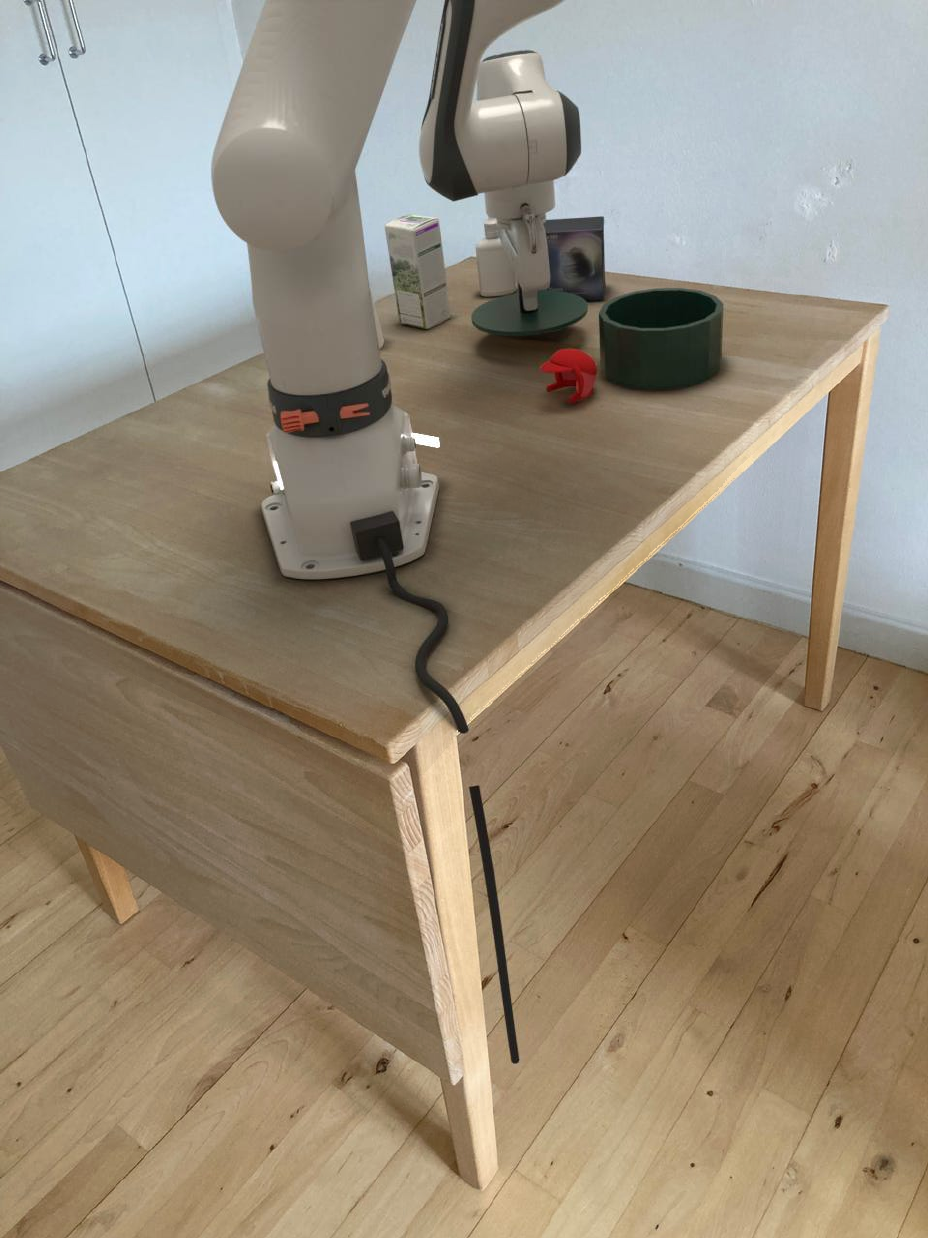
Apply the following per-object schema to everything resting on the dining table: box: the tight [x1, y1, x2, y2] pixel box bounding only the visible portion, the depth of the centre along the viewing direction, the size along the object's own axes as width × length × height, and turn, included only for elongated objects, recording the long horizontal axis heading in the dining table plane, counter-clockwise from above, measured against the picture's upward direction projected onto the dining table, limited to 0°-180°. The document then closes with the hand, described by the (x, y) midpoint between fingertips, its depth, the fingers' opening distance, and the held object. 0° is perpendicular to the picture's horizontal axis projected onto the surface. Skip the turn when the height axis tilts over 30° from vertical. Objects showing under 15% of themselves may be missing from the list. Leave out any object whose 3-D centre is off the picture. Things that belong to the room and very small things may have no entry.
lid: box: [470, 284, 589, 337], centre depth 138 cm, size 16×16×5 cm
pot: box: [598, 287, 725, 392], centre depth 127 cm, size 15×15×8 cm
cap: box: [539, 348, 598, 405], centre depth 123 cm, size 8×6×6 cm
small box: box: [538, 216, 607, 302], centre depth 152 cm, size 11×6×10 cm, turn 81°
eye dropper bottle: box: [475, 215, 517, 298], centre depth 156 cm, size 4×6×12 cm
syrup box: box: [384, 214, 452, 330], centre depth 148 cm, size 6×6×14 cm
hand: (528, 303), depth 138 cm, fingers closed on lid, 2 cm apart
